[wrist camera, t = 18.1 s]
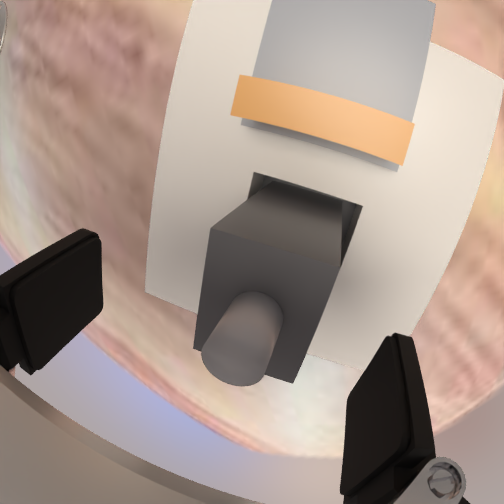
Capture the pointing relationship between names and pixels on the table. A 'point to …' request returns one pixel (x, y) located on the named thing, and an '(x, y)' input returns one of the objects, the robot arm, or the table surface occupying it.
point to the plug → (267, 283)
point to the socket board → (318, 182)
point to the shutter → (340, 75)
